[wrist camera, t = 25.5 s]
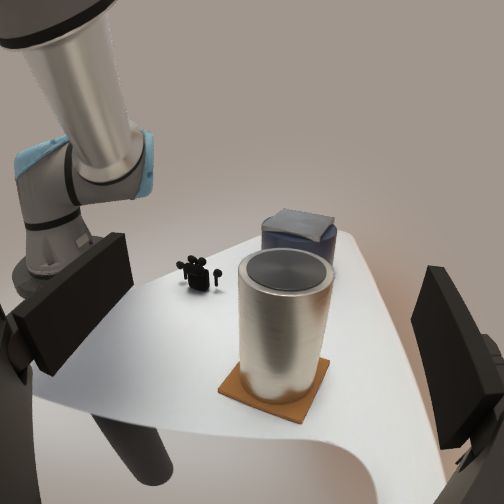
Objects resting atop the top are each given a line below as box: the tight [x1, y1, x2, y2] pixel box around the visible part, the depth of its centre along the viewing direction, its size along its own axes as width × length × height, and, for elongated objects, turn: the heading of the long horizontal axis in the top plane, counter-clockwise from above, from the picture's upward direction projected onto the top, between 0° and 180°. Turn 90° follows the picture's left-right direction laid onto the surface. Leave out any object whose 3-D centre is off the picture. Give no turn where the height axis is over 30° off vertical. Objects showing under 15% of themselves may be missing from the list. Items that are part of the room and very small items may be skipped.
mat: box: [218, 357, 330, 424], centre depth 29 cm, size 8×8×1 cm
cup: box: [238, 248, 334, 405], centre depth 26 cm, size 7×7×12 cm
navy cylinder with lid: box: [261, 209, 337, 266], centre depth 47 cm, size 11×11×8 cm
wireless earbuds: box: [176, 255, 222, 291], centre depth 42 cm, size 7×2×5 cm, turn 70°
